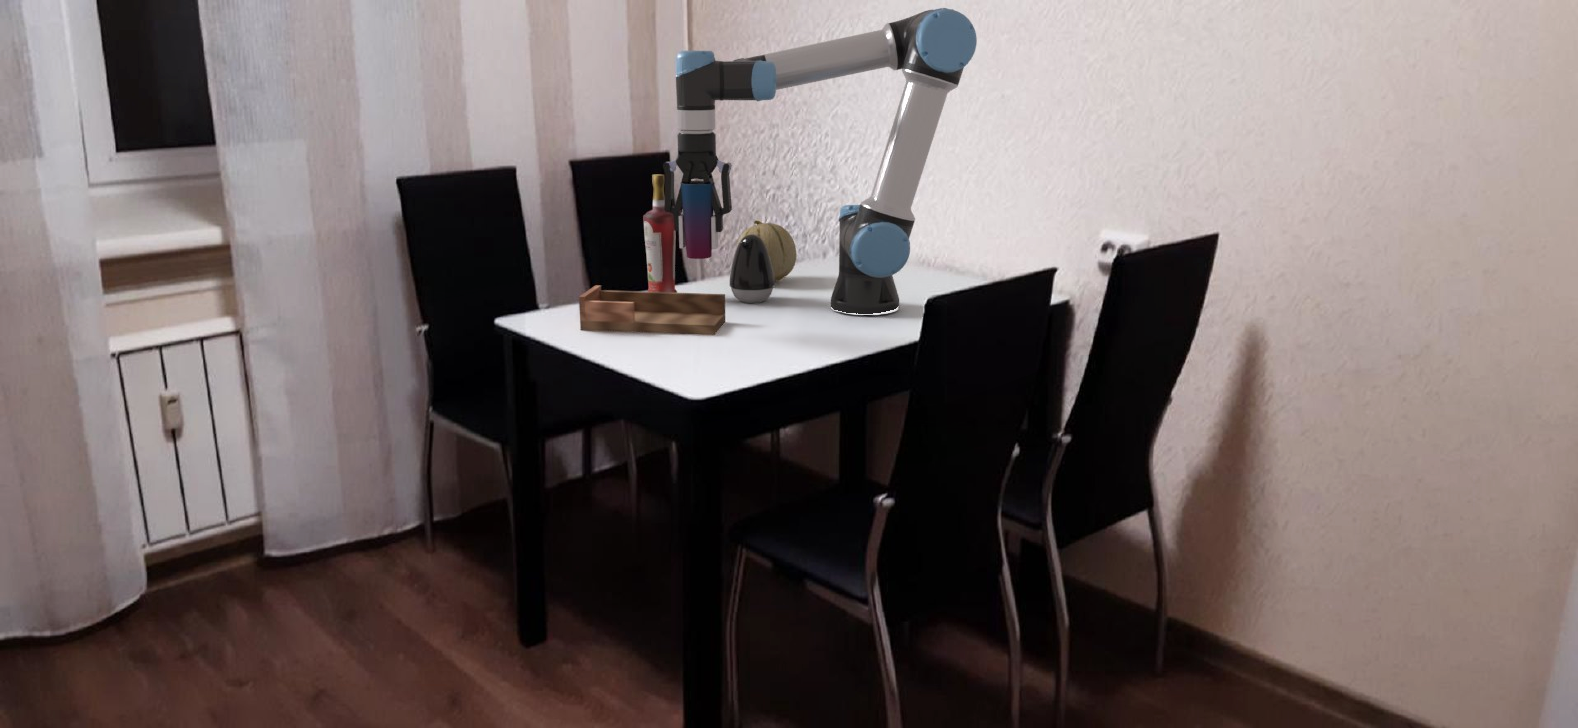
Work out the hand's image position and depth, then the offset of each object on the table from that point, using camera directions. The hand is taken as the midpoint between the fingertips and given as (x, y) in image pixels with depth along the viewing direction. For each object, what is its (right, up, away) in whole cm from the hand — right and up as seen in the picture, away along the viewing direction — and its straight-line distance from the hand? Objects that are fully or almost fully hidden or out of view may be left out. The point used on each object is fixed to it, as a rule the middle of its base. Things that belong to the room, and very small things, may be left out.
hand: (698, 247), depth 234 cm
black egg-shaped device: (+10, -9, +28) cm, 31 cm away
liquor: (-11, -9, +31) cm, 34 cm away
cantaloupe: (+13, -4, +47) cm, 49 cm away
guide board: (-10, -16, +6) cm, 19 cm away
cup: (0, -2, +1) cm, 2 cm away
